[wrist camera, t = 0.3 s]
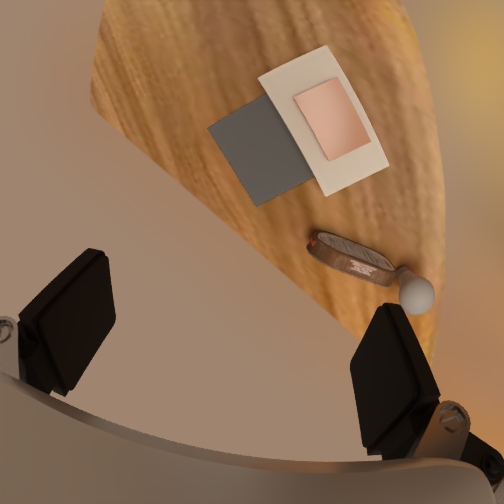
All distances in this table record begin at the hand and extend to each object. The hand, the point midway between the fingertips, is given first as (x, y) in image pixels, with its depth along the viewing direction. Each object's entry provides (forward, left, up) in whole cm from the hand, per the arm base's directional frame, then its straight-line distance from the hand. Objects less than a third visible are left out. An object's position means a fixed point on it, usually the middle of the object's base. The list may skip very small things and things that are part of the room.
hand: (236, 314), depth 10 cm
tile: (-1, +10, -31) cm, 32 cm away
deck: (-1, +9, -36) cm, 37 cm away
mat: (-1, -1, -36) cm, 36 cm away
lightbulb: (+28, +11, -36) cm, 47 cm away
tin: (+19, +4, -36) cm, 41 cm away
